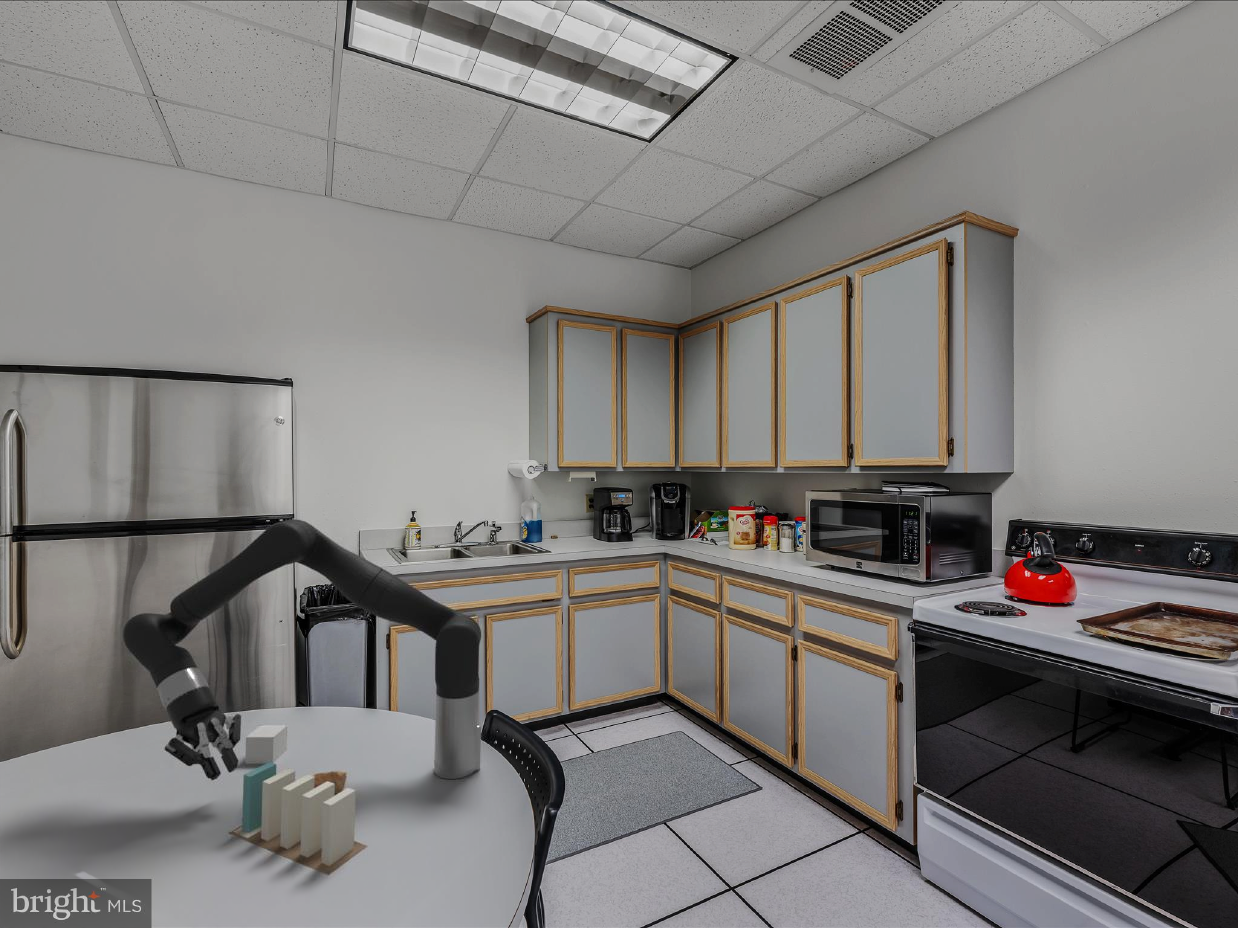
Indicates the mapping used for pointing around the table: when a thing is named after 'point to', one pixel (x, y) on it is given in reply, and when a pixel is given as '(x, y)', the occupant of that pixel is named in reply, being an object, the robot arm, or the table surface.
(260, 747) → the white cube
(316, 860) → the board
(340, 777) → the shard
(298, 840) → the domino
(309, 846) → the domino
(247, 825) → the teal domino
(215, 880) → the table surface
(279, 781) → the domino
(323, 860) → the domino
